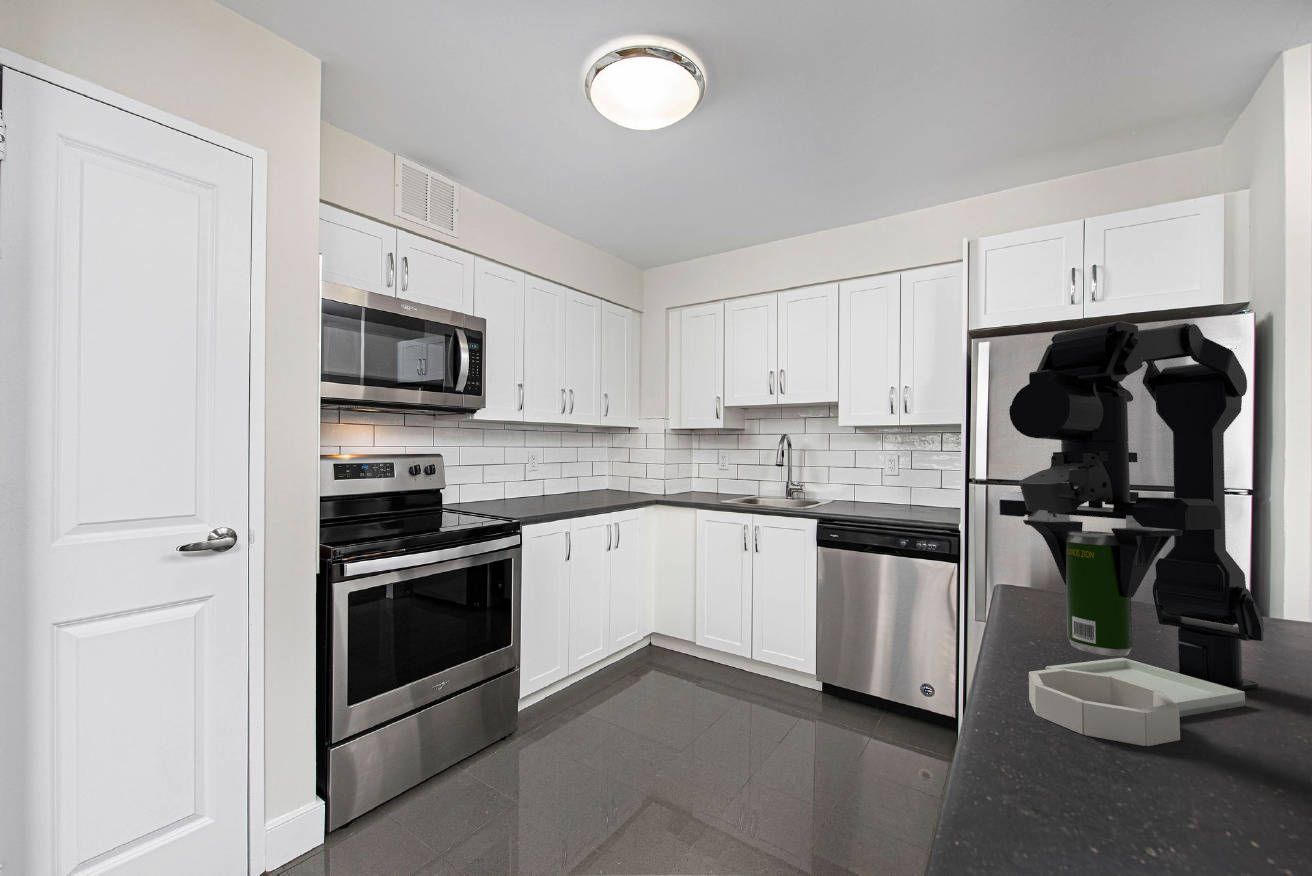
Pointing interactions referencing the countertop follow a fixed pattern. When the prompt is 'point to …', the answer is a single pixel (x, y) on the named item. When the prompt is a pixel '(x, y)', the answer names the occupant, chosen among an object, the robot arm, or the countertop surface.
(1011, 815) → the countertop surface
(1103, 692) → the cup
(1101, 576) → the beer can
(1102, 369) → the robot arm
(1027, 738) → the countertop surface
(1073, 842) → the countertop surface
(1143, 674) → the tray
